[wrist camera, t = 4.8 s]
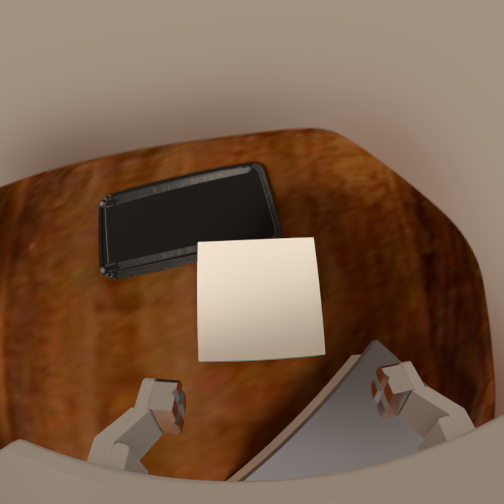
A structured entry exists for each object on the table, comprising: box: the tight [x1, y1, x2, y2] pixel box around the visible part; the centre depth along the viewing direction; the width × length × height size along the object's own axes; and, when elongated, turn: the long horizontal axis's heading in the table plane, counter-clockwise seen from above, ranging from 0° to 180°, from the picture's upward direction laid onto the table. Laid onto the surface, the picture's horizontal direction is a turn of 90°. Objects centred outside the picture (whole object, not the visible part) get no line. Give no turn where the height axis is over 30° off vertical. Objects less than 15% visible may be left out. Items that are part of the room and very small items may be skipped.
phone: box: [99, 163, 281, 280], centre depth 24 cm, size 8×1×15 cm
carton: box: [197, 237, 325, 362], centre depth 17 cm, size 5×5×10 cm
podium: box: [227, 340, 427, 481], centre depth 15 cm, size 15×15×5 cm
